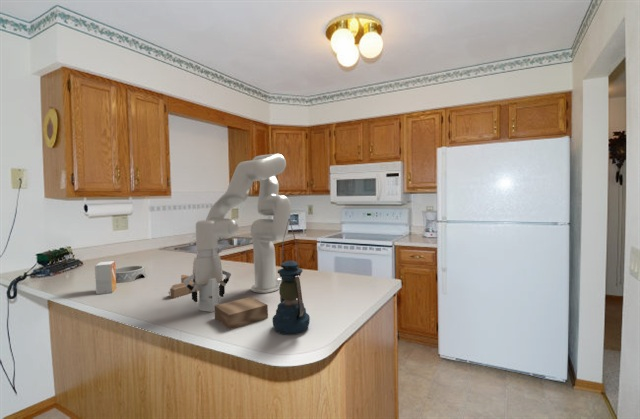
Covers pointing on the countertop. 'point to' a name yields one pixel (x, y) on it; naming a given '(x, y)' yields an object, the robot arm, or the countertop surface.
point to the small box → (105, 277)
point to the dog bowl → (129, 273)
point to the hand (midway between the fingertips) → (208, 298)
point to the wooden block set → (181, 288)
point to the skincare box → (209, 295)
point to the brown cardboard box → (241, 312)
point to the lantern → (290, 299)
